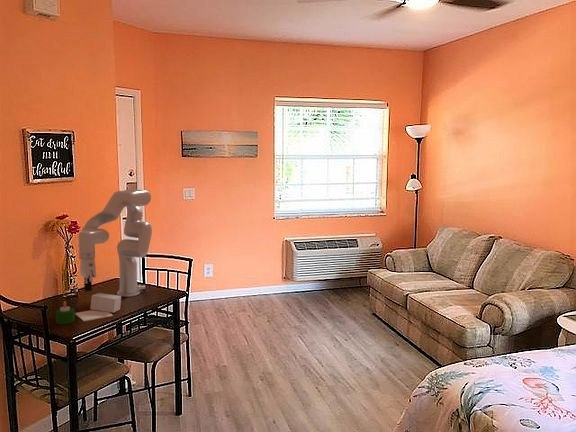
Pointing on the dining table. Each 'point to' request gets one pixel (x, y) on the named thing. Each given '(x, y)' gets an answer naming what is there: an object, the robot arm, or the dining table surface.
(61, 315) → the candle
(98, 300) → the supplement box
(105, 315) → the mat
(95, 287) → the dining table surface
